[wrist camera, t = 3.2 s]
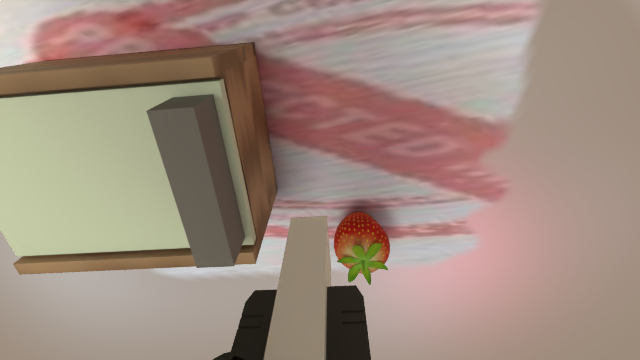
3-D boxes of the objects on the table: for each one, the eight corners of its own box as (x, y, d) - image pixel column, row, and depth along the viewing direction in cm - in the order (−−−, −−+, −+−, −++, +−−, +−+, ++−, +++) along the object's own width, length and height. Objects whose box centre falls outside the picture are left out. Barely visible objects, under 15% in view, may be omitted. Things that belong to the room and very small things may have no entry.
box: (48, 60, 28) (-103, 83, 18) (253, 42, 27) (210, 57, 17) (108, 200, 34) (19, 274, 25) (277, 190, 33) (255, 263, 24)
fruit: (392, 217, 34) (409, 269, 27) (359, 247, 36) (367, 304, 29) (354, 188, 33) (361, 236, 26) (322, 221, 35) (320, 274, 28)
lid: (-64, 101, 20) (-144, 119, 17) (223, 78, 19) (200, 91, 16) (25, 249, 25) (-22, 286, 22) (256, 237, 24) (244, 274, 21)
